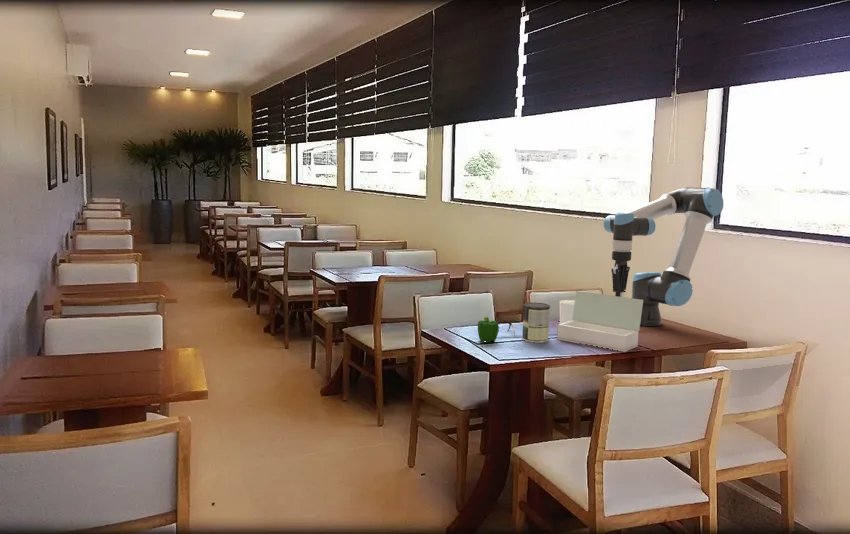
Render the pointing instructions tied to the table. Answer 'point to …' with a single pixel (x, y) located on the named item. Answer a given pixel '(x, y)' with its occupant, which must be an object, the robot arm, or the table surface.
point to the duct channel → (598, 335)
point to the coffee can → (536, 322)
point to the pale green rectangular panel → (608, 310)
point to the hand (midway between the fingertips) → (618, 307)
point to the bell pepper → (488, 330)
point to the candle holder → (566, 310)
